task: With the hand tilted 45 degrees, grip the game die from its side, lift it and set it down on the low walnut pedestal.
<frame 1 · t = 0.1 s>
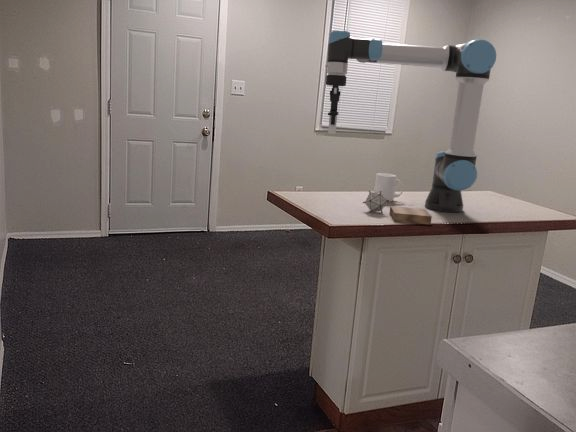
hand: (331, 132, 200), 28 cm above the kitchen island, tool pointing down, fingers open, 13 cm apart
pedestal: (409, 219, 192), on the kitchen island
mug: (387, 200, 225), on the kitchen island
game die: (374, 212, 200), on the kitchen island
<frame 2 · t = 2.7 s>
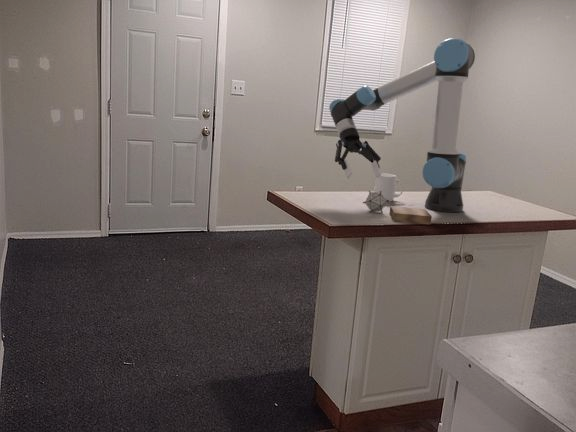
hand: (364, 176, 204), 12 cm above the kitchen island, tool tilted 45°, fingers open, 13 cm apart
nothing on the kitchen island moved.
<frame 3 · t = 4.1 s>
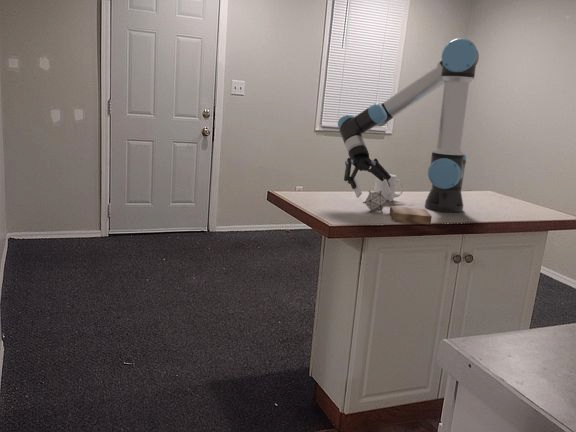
hand: (374, 195, 198), 6 cm above the kitchen island, tool tilted 45°, fingers open, 13 cm apart
nothing on the kitchen island moved.
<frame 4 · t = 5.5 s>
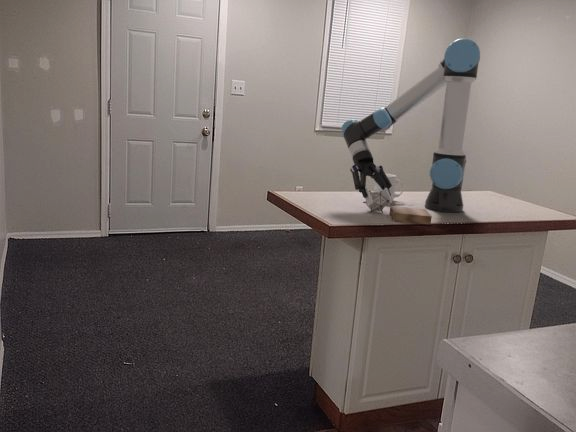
hand: (380, 204, 196), 4 cm above the kitchen island, tool tilted 45°, fingers closed on game die, 8 cm apart
game die: (374, 212, 200), on the kitchen island, touching gripper
everything else where it was.
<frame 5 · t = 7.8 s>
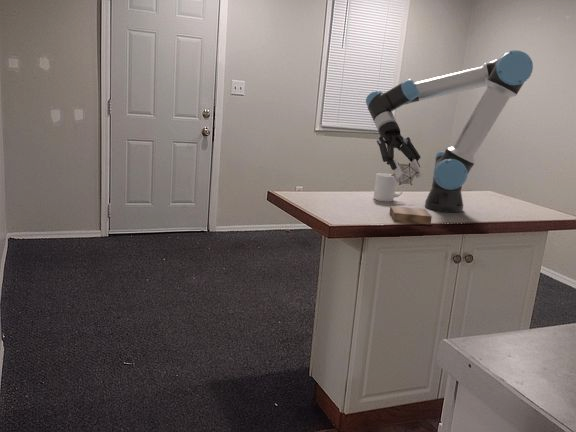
hand: (409, 176, 188), 16 cm above the kitchen island, tool tilted 45°, fingers closed on game die, 8 cm apart
game die: (403, 185, 191), point 12 cm above the kitchen island, touching gripper
everything else where it was.
when the fingers open (8 cm above the kitchen island, at t = 9.9 s): game die drops 1 cm, resting on pedestal.
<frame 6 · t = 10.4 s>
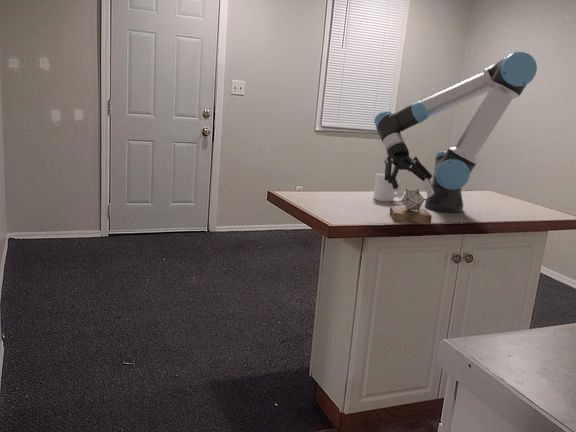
hand: (416, 195, 188), 9 cm above the kitchen island, tool tilted 45°, fingers open, 13 cm apart
game die: (411, 211, 191), point 3 cm above the kitchen island, touching pedestal
everything else where it was.
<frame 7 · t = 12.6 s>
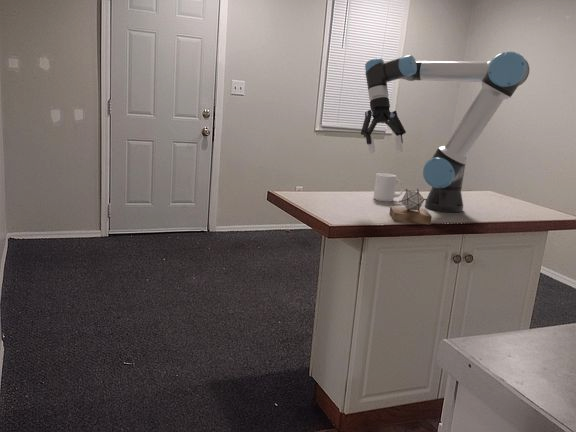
hand: (386, 152, 205), 22 cm above the kitchen island, tool tilted 20°, fingers open, 13 cm apart
nothing on the kitchen island moved.
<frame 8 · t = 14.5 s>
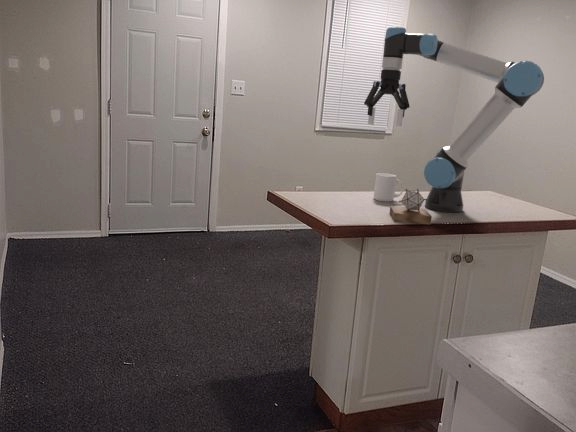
hand: (384, 125, 209), 32 cm above the kitchen island, tool pointing down, fingers open, 13 cm apart
nothing on the kitchen island moved.
at the end: game die inside the target area on the pedestal (0.3 cm from its centre), point 2.8 cm above the pedestal's base; the gripper is holding nothing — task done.
